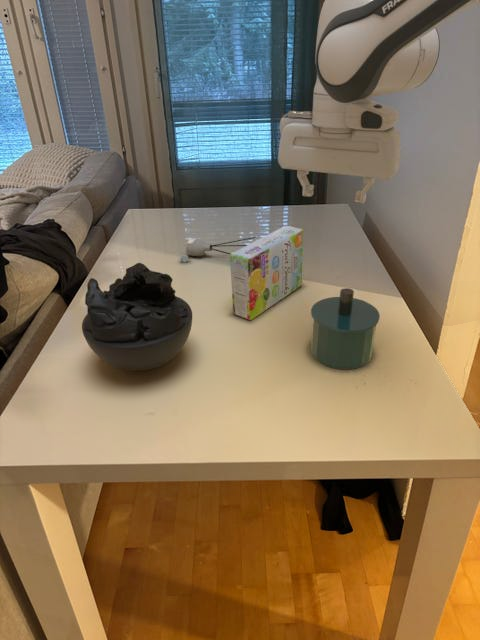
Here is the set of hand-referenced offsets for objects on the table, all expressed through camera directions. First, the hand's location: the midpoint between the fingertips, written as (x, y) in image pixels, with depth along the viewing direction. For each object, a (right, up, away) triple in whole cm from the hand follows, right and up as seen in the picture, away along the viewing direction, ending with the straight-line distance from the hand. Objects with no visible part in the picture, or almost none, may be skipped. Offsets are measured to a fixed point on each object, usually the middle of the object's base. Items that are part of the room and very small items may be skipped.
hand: (333, 198), depth 81 cm
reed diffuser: (-22, -4, +51) cm, 56 cm away
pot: (+4, -27, +11) cm, 30 cm away
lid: (+3, -20, +6) cm, 21 cm away
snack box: (-9, -17, +30) cm, 35 cm away
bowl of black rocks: (-35, -29, +10) cm, 47 cm away
